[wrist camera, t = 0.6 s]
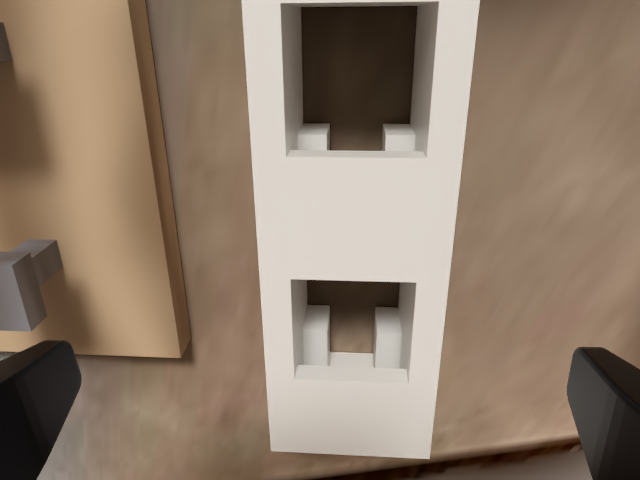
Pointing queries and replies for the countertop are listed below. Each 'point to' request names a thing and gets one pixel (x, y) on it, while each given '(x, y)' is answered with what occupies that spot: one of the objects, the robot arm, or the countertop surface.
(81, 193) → the mounting board
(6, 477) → the robot arm
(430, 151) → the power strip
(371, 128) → the countertop surface
